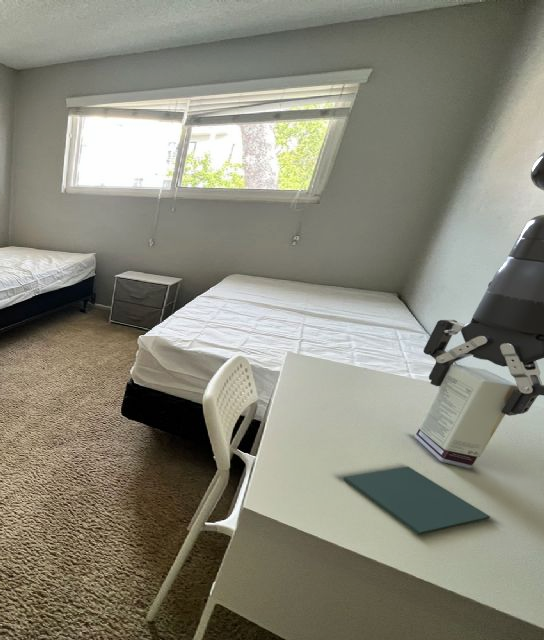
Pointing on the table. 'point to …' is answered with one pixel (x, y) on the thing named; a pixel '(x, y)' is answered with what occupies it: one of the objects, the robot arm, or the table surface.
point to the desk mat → (415, 500)
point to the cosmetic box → (467, 409)
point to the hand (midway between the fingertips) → (470, 398)
